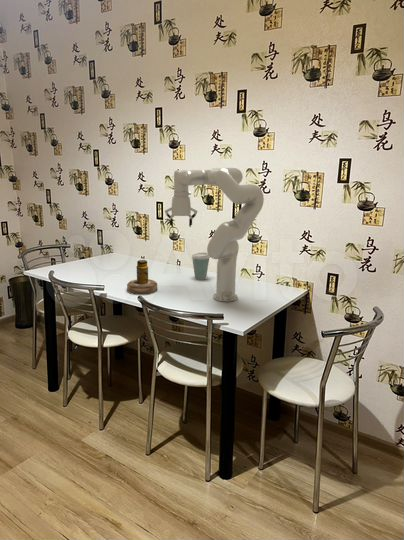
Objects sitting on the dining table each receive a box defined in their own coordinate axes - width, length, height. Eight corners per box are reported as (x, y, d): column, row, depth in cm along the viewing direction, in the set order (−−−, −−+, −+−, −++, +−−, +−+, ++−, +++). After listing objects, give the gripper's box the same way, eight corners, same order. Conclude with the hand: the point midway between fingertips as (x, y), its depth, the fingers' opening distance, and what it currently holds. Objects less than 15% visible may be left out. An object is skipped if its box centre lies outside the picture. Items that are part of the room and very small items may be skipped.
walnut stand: (157, 294, 224) (156, 287, 223) (125, 294, 222) (125, 287, 221) (157, 285, 239) (157, 278, 238) (128, 285, 238) (128, 278, 237)
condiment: (151, 283, 229) (150, 261, 226) (136, 285, 225) (136, 263, 221) (145, 280, 235) (144, 258, 232) (130, 282, 230) (130, 260, 227)
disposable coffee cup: (194, 281, 247) (194, 256, 243) (189, 276, 257) (189, 252, 253) (211, 280, 250) (212, 255, 246) (206, 275, 260) (207, 251, 256)
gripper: (197, 193, 230) (196, 225, 235) (164, 193, 229) (164, 225, 233) (198, 195, 223) (197, 227, 228) (164, 194, 222) (164, 227, 226)
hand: (181, 226), depth 231 cm, fingers open, 9 cm apart
